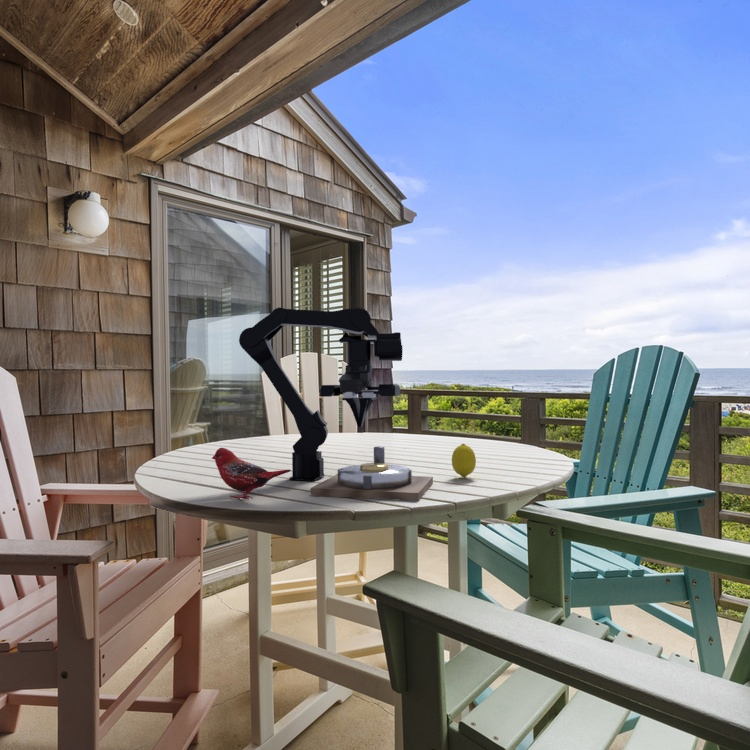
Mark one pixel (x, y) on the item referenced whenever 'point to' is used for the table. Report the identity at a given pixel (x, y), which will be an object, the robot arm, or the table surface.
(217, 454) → the decorative bird figurine
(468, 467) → the lemon
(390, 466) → the notched round platform
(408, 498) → the base plate
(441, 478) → the table surface
